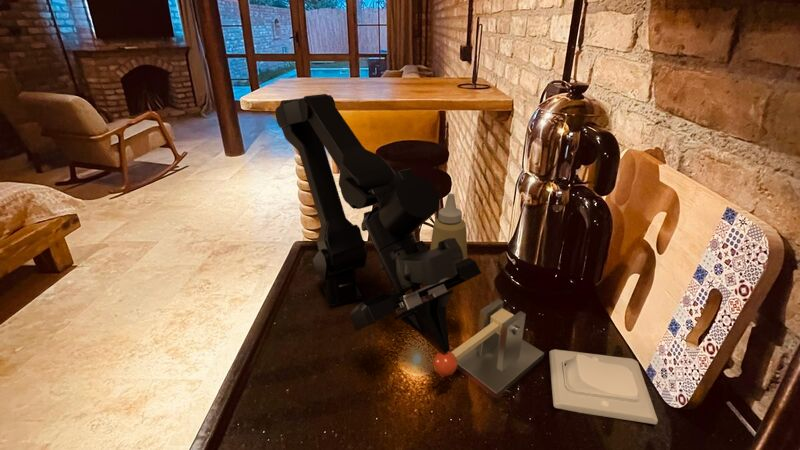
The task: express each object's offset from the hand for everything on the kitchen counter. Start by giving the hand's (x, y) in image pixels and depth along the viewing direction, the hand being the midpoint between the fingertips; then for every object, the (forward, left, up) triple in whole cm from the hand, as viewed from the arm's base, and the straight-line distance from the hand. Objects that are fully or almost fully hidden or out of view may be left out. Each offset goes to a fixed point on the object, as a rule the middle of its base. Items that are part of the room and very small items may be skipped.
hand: (445, 352), depth 53 cm
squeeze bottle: (-30, +16, -10) cm, 35 cm away
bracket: (-4, +11, -9) cm, 15 cm away
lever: (-2, +6, -3) cm, 7 cm away
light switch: (+6, +22, -10) cm, 25 cm away
